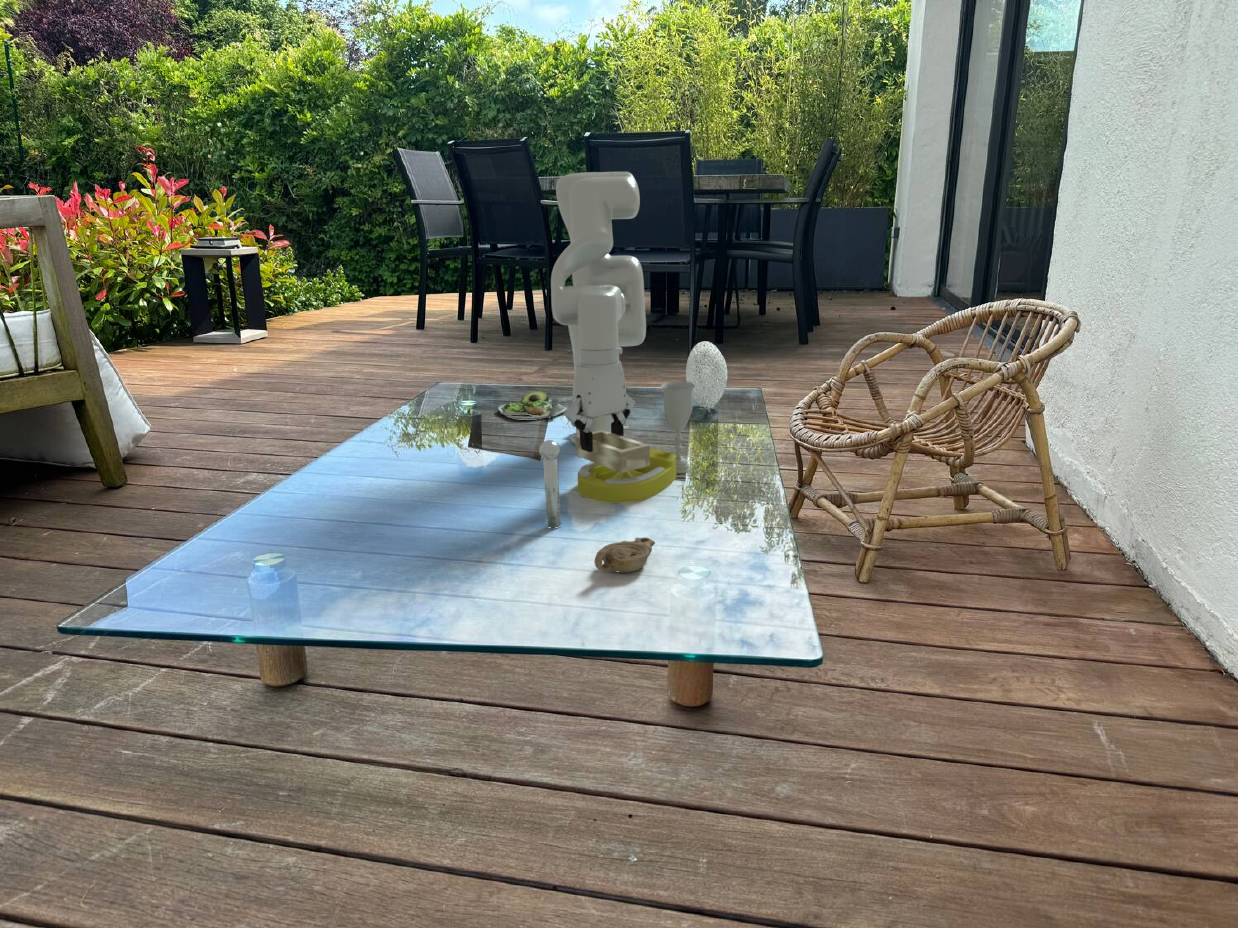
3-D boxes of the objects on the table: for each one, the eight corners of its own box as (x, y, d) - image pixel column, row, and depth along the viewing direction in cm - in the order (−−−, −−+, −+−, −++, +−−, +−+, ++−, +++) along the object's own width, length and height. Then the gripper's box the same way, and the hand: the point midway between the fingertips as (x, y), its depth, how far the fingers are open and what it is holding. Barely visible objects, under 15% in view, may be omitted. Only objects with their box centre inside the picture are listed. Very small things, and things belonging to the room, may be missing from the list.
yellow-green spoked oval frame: (691, 481, 172) (691, 458, 170) (622, 510, 157) (621, 485, 156) (631, 466, 182) (630, 443, 181) (561, 491, 168) (559, 468, 167)
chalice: (692, 475, 174) (692, 389, 168) (660, 474, 175) (658, 389, 170) (696, 464, 181) (696, 381, 175) (665, 463, 182) (664, 381, 177)
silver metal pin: (540, 525, 150) (534, 440, 146) (557, 520, 153) (552, 436, 148) (551, 531, 148) (545, 444, 143) (568, 526, 150) (563, 440, 145)
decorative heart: (683, 400, 235) (683, 339, 229) (722, 399, 235) (722, 337, 229) (689, 417, 218) (688, 351, 212) (730, 416, 218) (731, 350, 212)
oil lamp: (633, 548, 140) (632, 520, 139) (669, 560, 135) (669, 531, 134) (578, 576, 131) (577, 546, 129) (615, 589, 126) (614, 558, 125)
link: (575, 455, 169) (575, 436, 168) (603, 448, 173) (602, 429, 171) (621, 473, 157) (621, 452, 156) (650, 465, 161) (649, 445, 160)
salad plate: (582, 417, 222) (581, 400, 221) (518, 428, 214) (517, 410, 213) (552, 402, 238) (551, 386, 237) (492, 412, 231) (490, 395, 229)
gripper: (623, 348, 169) (625, 434, 174) (549, 360, 159) (554, 451, 165) (647, 353, 163) (648, 442, 169) (572, 366, 153) (576, 460, 159)
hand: (602, 446), depth 167 cm, fingers closed on link, 6 cm apart
